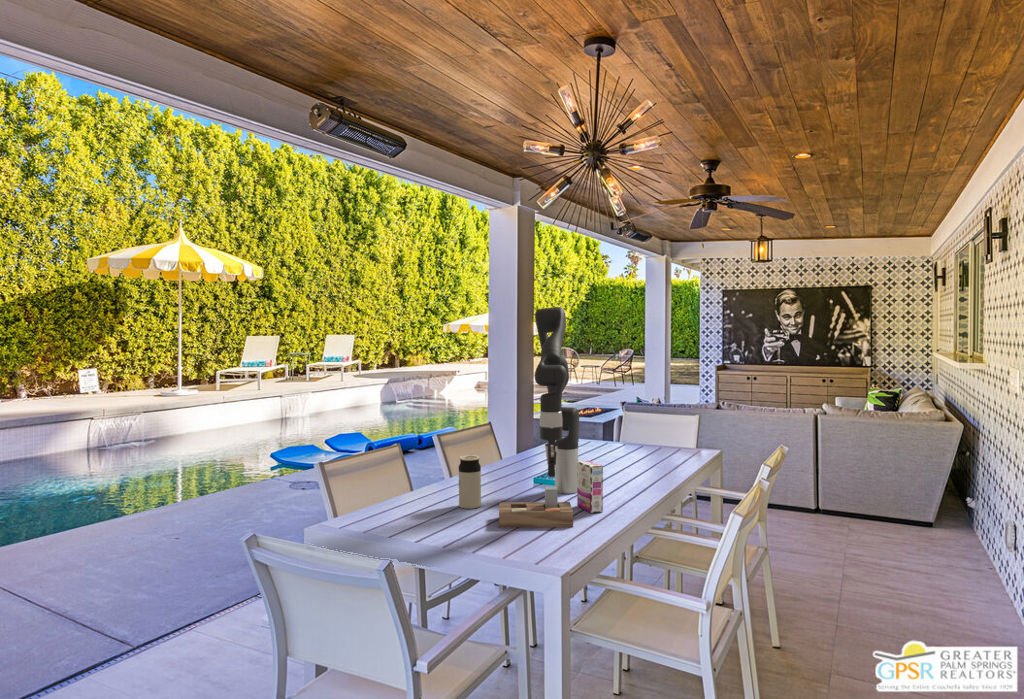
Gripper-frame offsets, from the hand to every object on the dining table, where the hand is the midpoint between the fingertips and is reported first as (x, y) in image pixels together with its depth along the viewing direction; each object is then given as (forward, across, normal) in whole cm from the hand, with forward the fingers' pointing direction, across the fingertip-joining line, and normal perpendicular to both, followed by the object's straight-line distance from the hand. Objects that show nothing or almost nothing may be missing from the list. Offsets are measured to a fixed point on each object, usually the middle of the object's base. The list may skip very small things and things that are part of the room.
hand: (551, 476), depth 220 cm
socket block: (+15, +1, -6) cm, 16 cm away
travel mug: (+15, -19, -28) cm, 37 cm away
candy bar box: (+15, -14, +14) cm, 25 cm away
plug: (+14, 0, 0) cm, 14 cm away
